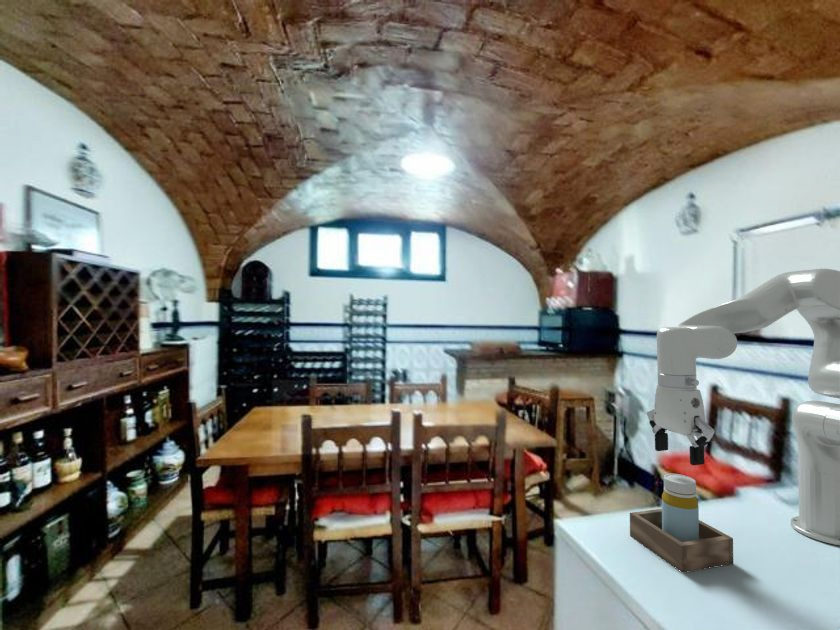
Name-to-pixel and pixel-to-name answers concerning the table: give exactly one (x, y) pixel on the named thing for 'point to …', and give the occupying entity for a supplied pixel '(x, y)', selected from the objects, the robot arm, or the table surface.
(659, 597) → the table surface
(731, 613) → the table surface
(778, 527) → the table surface
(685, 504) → the bottle
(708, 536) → the brown box
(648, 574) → the table surface
